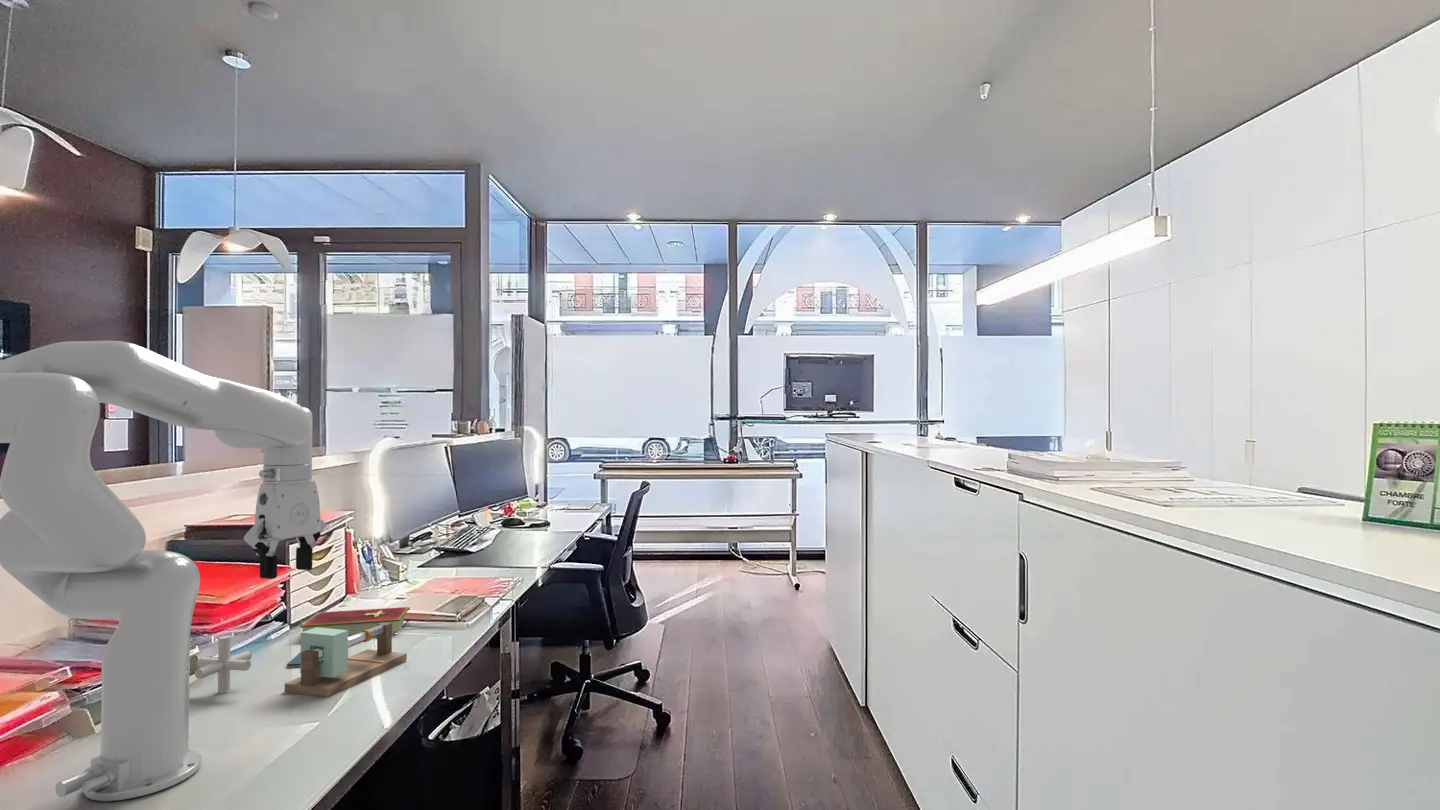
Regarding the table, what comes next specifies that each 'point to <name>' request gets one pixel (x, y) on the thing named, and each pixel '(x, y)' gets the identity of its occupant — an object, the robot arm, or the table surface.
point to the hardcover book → (357, 619)
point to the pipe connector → (223, 664)
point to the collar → (328, 649)
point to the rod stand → (358, 664)
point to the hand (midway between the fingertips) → (286, 572)
